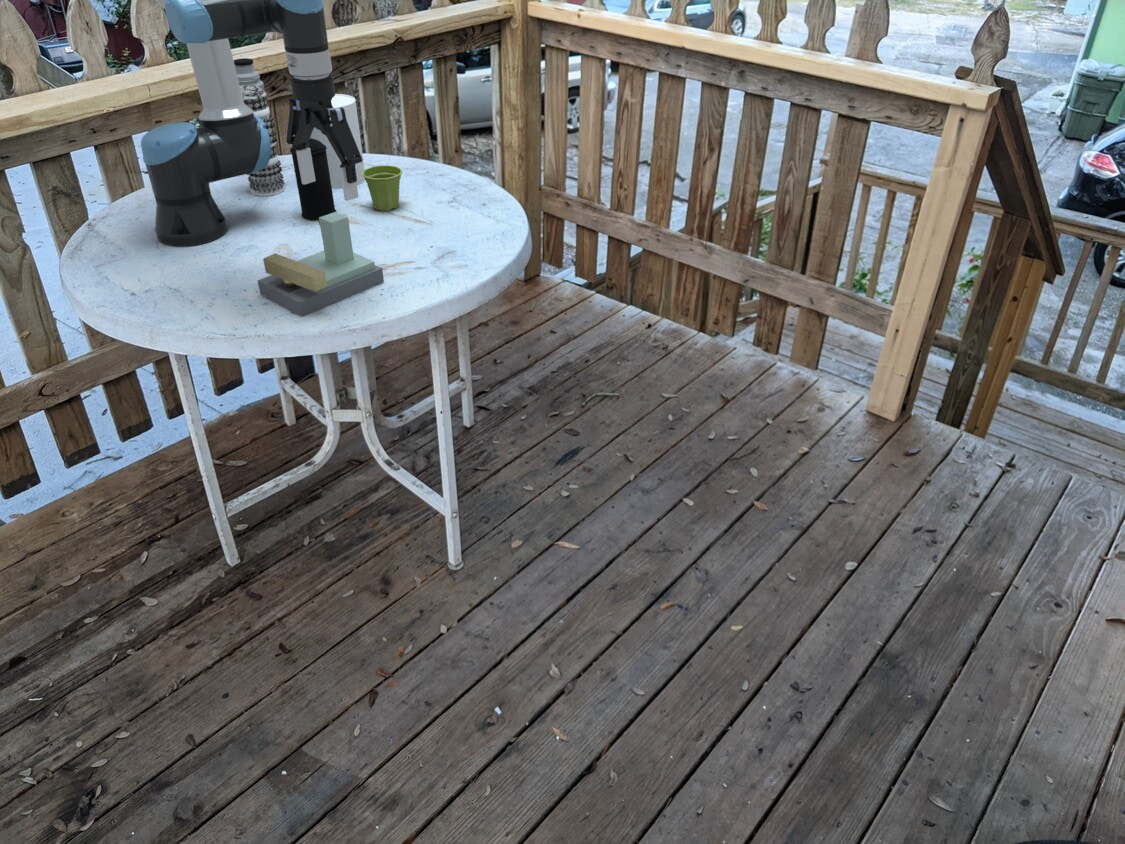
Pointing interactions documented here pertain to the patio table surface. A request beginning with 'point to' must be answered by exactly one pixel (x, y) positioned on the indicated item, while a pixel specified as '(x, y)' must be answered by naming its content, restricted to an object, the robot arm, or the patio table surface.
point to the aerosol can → (315, 184)
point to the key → (295, 272)
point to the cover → (337, 252)
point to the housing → (311, 301)
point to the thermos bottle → (247, 73)
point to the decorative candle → (270, 176)
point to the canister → (352, 121)
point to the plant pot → (383, 185)
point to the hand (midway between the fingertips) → (329, 190)
